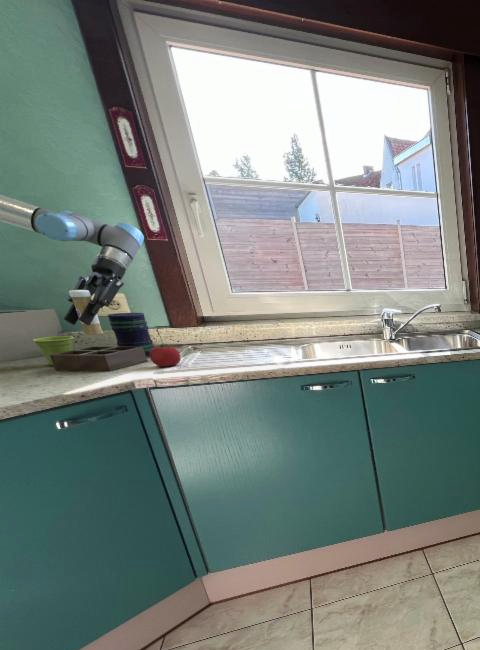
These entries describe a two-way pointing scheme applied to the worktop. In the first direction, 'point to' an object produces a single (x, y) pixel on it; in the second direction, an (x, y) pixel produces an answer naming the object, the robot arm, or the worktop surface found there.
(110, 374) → the worktop surface
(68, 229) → the robot arm
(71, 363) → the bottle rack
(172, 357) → the tomato
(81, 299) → the sprinkles bottle
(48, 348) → the plant pot
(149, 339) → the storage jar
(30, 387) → the worktop surface
